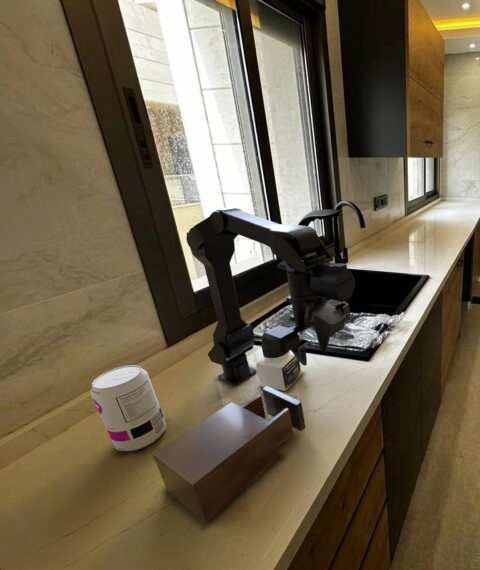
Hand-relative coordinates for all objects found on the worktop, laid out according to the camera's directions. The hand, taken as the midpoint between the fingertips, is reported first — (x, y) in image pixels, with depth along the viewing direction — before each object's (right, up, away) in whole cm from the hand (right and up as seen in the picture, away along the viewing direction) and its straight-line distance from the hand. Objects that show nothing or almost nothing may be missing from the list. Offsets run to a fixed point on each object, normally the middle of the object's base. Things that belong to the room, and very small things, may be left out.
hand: (314, 358), depth 71 cm
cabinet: (-12, -18, -12) cm, 25 cm away
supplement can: (-34, -15, -4) cm, 37 cm away
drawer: (-8, -15, -5) cm, 18 cm away
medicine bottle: (-13, -9, +13) cm, 20 cm away
